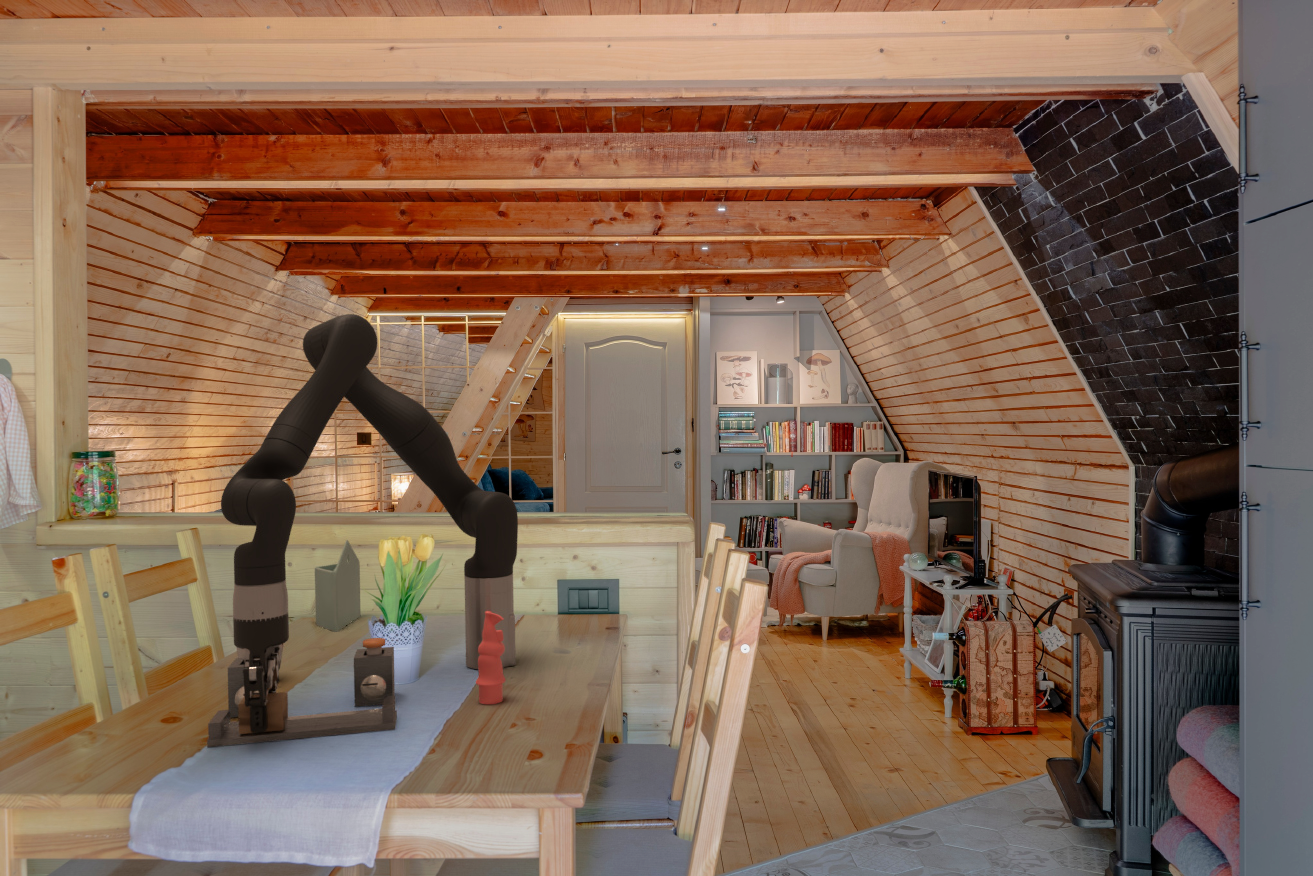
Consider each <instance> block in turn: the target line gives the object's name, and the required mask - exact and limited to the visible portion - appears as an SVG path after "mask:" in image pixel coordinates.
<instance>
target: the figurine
mask: <svg viewBox="0 0 1313 876" xmlns="http://www.w3.org/2000/svg"><path fill="white" fill-rule="evenodd" d="M485 615H486V616H485V620H484V627H483V631H482V642H481V644H480V645H479V647H478V653H479V654H480V656H479V658H478V669H477V670H478V677H477V679H476V681H475V684H476V685H477V686H478V702H479V703H480V704H483V705H497V704H499V703H502V701H504V697H503V695H504V694H503V693H504V692H503V691H504V689H503V686H504V685H503V684H504V683H505V682H506V677H505V675H504V667H503V666H502V661H501V659H500V656H502V654H503V653H504V651H505V646H504V644H503V643H502V642H501V641H503V639H504V638H503V632H502V630H496V628H495V625H496V624H497V623H499V622H500V621H501V620H504V619H503V618H502V617H501V616H500V615H498V614H495V613H492V612H491V611H486V612H485Z"/></svg>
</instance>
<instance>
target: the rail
mask: <svg viewBox="0 0 1313 876" xmlns="http://www.w3.org/2000/svg"><path fill="white" fill-rule="evenodd" d="M397 719H398V710H397V709H396V695H395V694H394V696H385V697H384V702H383V705H382V708H381V707H380V708H371V709H362V710H360V709H358V710H349V711H337V712H326V713H325V712H324V713H316V714H313V713H312V714H304V715H302V714H301V715H293V716H292V715H291V716H288V717H285V719H284V729H283V730H279V731H268V732H257V733H246V734H239V720H238V721H237V720H236V721H235V720H234V721H231V718H230V710H229V709H221V710H217V712H216V713H215V714H214V715H213V717H212V719H210V720H209V722H208V723H207V726H208V727H207V728H208V730H207V731H208V733H207V734H208V738H207V740H206V746H207V747H206V748H212V747H224V746H233V745H243V744H245V745H246V744H253V743H256V744H257V743H264V742H266V743H267V742H277V741H284V740H285V741H286V740H296V739H297V740H298V739H307V738H317V737H328V736H329V737H331V736H337V735H339V736H340V735H349V734H362V733H370V732H371V733H372V732H381V731H382V732H383V731H391V730H396V726H397Z"/></svg>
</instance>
